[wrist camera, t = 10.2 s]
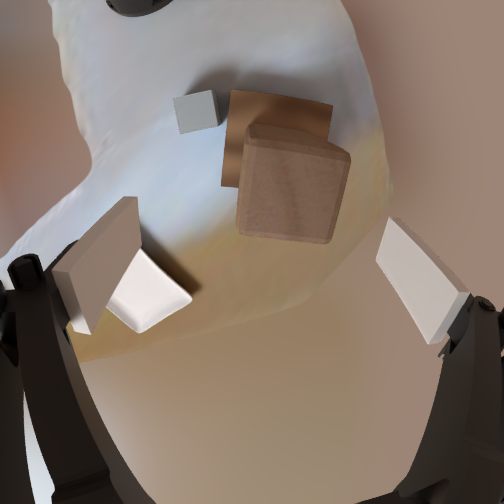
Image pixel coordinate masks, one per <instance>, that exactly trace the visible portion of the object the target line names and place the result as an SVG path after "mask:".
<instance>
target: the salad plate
mask: <svg viewBox="0 0 504 504" xmlns="http://www.w3.org/2000/svg"><path fill="white" fill-rule="evenodd" d="M192 300H193V298H192V296H191V295H190V293H189V292H187V291H186V290H185V289H184V288H183V287H181V286H180V285H179V284H178V283H177V282H175V281H174V280H173V279H172V278H171V277H170V276H169V275H168V274H167V273H165V272H164V271H163V270H162V269H161V268H160V267H159V266H158V265H157V264H156V263H155V262H154V261H153V260H152V259H151V258H150V257H149V256H148V255H147V254H146V253H145V252H144V250H143V249H142V248H141V247H140V249H139V251H138V252H137V254H136V255H135V257H134V259H133V260H132V262H131V264H130V265H129V267H128V269H127V270H126V272H125V274H124V275H123V277H122V279H121V280H120V282H119V284H118V286H117V287H116V289H115V291H114V293H113V295H112V296H111V298H110V300H109V302H108V304H107V306H106V307H107V308H108V309H109V310H110V311H111V312H112V313H114V314H115V315H116V316H117V317H118V318H119V319H121V320H122V321H123V322H124V323H125V324H127V325H128V326H129V327H130V328H131V329H133V330H134V331H135V332H137V333H142V332H144V331H145V330H147V329H149V328H150V327H152V326H153V325H155V324H156V323H158V322H160V321H161V320H163V319H164V318H166V317H168V316H169V315H171V314H173V313H174V312H176V311H178V310H179V309H181V308H183V307H185V306H186V305H188V304H189V303H190V302H191V301H192Z"/></svg>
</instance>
